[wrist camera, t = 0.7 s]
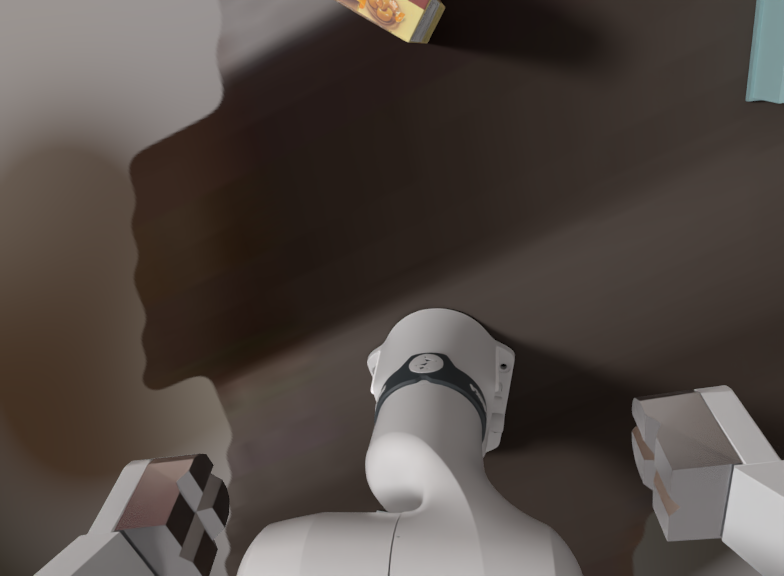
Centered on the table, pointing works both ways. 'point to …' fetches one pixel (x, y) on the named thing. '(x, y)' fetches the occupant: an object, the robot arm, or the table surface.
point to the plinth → (767, 53)
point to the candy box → (401, 16)
